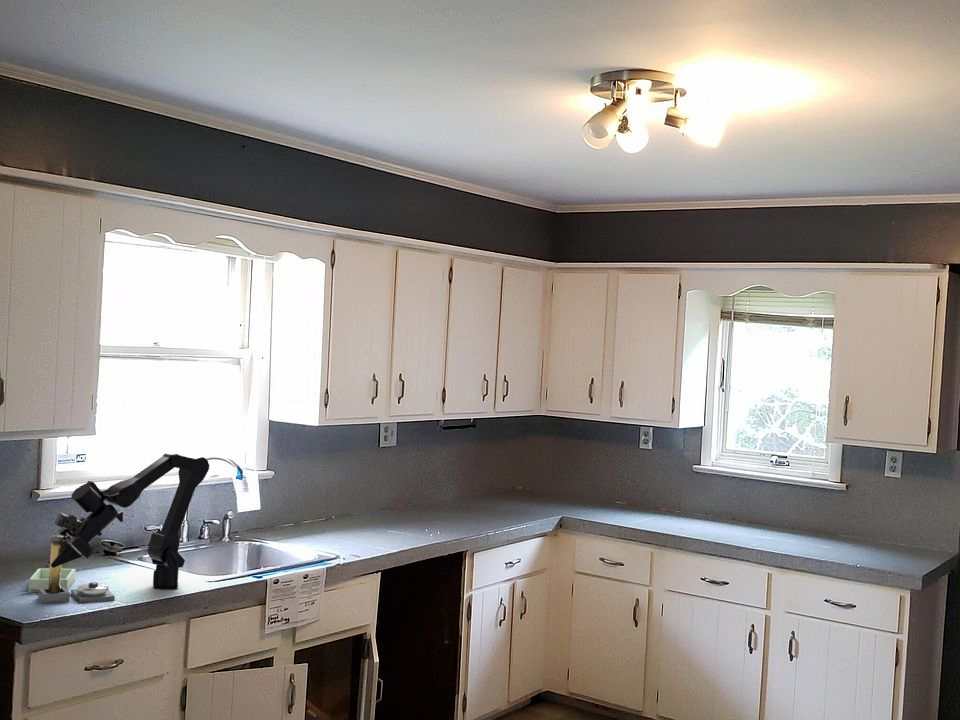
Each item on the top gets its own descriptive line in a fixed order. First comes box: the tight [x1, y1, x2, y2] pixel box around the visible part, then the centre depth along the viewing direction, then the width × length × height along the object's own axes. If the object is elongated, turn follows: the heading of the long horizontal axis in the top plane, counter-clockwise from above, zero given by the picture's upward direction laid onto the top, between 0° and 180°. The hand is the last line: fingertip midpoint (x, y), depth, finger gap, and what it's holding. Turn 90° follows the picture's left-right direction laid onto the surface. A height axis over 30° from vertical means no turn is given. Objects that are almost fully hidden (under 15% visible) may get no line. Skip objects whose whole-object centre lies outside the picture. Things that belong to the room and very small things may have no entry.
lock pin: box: [48, 534, 66, 593], centre depth 266 cm, size 4×4×15 cm
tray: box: [27, 568, 76, 593], centre depth 281 cm, size 10×14×4 cm
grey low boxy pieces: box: [37, 581, 116, 605], centre depth 269 cm, size 18×11×4 cm, turn 124°
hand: (50, 565), depth 265 cm, fingers closed on lock pin, 3 cm apart
